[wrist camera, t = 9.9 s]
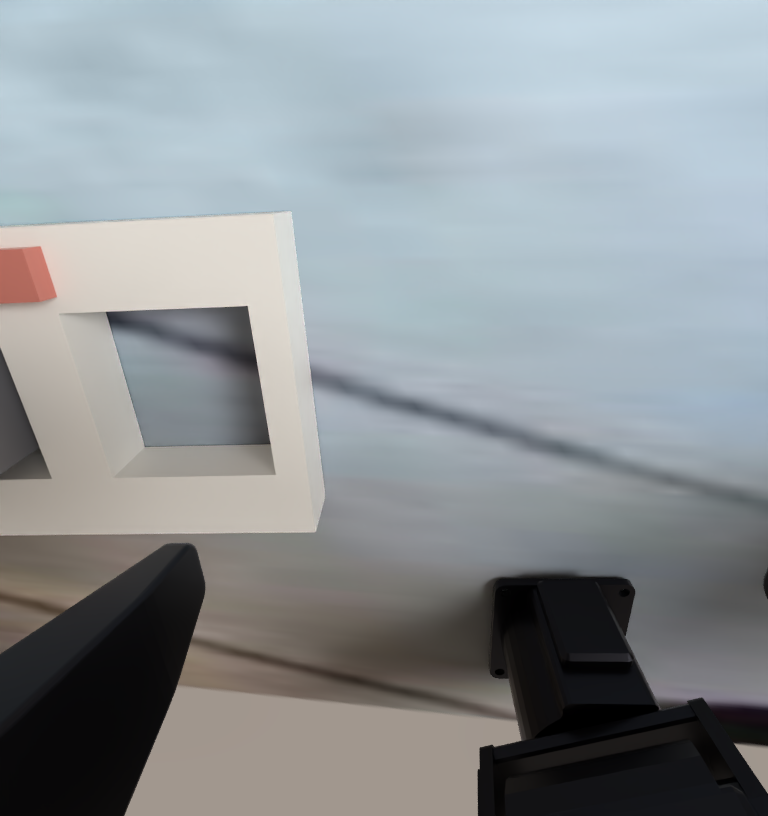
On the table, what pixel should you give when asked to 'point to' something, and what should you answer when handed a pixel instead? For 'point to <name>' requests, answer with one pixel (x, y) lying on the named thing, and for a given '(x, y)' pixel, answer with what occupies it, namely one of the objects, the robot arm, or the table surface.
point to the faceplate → (107, 389)
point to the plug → (13, 423)
